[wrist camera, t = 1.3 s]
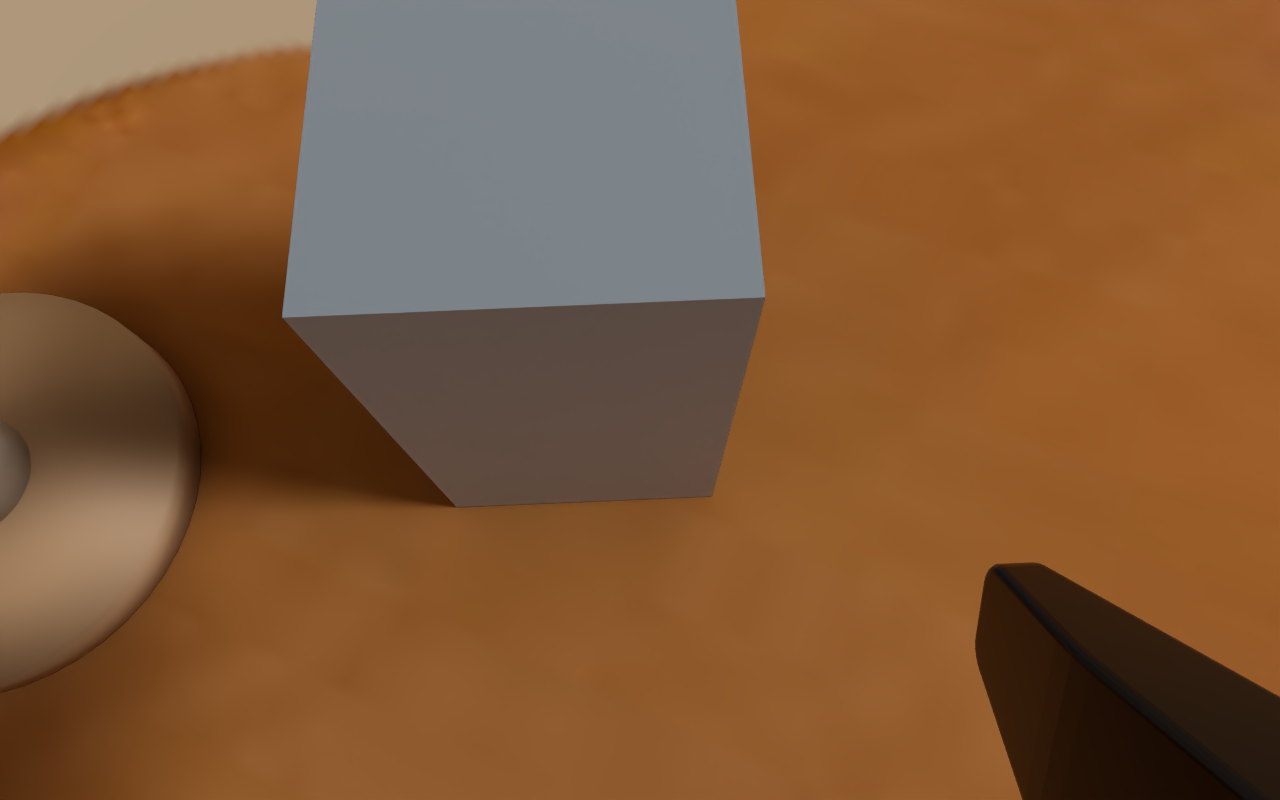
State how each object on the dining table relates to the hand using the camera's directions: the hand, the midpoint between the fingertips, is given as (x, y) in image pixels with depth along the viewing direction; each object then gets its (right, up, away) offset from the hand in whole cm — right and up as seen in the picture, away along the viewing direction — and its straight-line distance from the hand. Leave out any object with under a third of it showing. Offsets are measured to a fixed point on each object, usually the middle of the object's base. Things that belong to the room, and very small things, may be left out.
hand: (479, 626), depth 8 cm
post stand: (-15, 0, +14) cm, 21 cm away
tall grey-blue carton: (0, +2, +15) cm, 15 cm away
